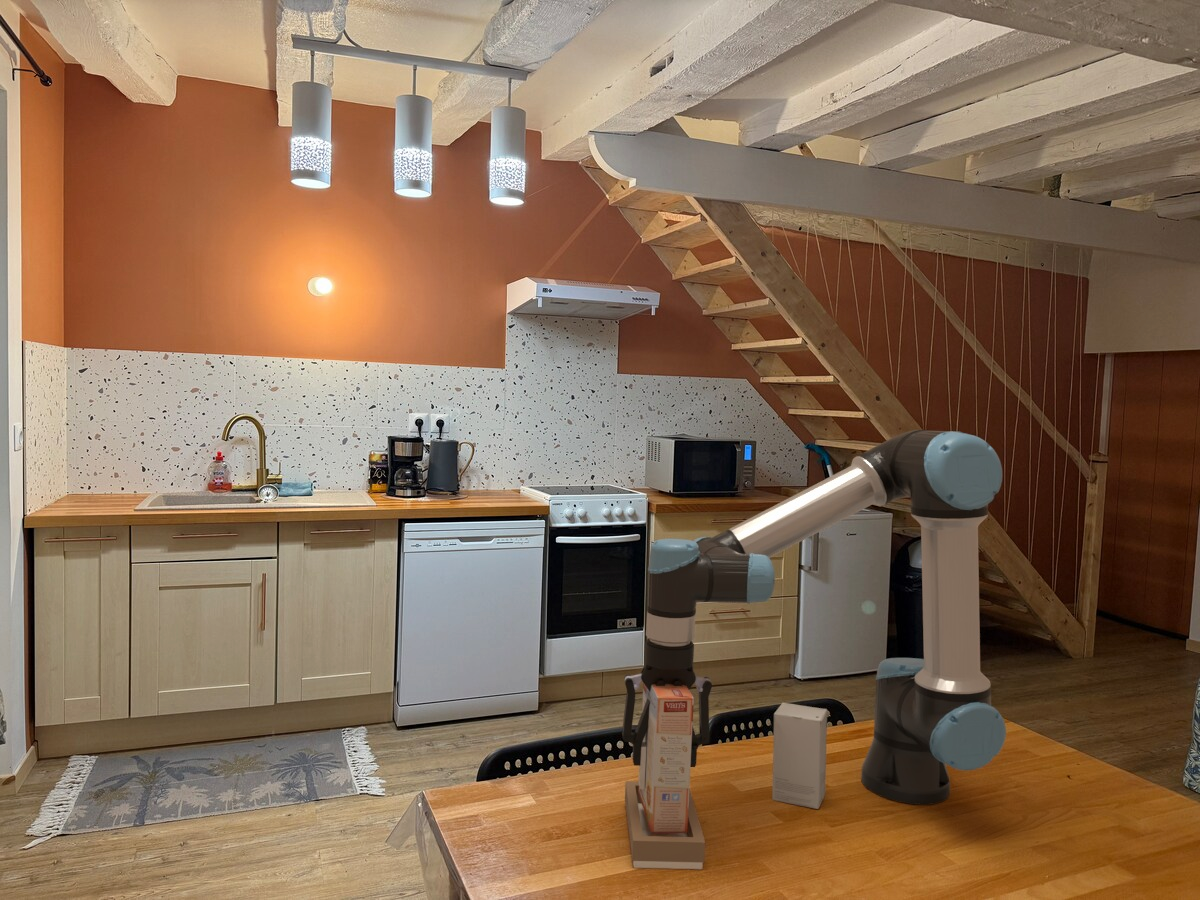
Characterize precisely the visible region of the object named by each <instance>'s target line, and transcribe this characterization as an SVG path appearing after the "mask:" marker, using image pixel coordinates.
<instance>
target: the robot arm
mask: <svg viewBox="0 0 1200 900" xmlns="http://www.w3.org/2000/svg"><path fill="white" fill-rule="evenodd" d="M998 455H999V454H997V452H996V450H995V449H994V448H993V447H992V446H991V445H990V443H988V442H987V441H985V440H984V439H982V438H981V437H979V436H977V435H972V434H969V433H964V432H962V431H953V430H952V431H949V430H948V431H947V430H946V431H945V430H930V429H914V430H910V431H906V432H903V433H900V434H898V435H896V436H894V437H892V438H890V439H888V440H885V441H883V442H882V443H880V444H877V445H876V446H873V447H872V448H870V449H868V450H866V451H864V452H862V453H861V454H858V455H857V456H854V458H853V459H852V461H851V464H850V466H848V467H847V468H845V469H842V470H840V471H838V472H836V473H834V474H833V475H831V476H829V477H827V478H825V479H824V480H821V481H819V482H818V483H816V484H814V485H811V486H810V487H808V488H806V489H804V490H802V491H800V492H798V493H796V494H794V495H792V496H790V497H788V498H787V499H785V500H783V501H781V502H779V503H777V504H775V505H774V506H771V507H769V508H767V509H764V511H761V512H759V513H757V514H756V515H753V516H752V517H750V518H748V519H746V520H744V521H742V522H740V523H738V524H736V525H734V526H732V527H731V528H729V529H727V530H724V531H722V532H720V533H717V534H716V535H714V536H712V537H711V536H703V537H702V536H701V537H698V538H695V539H693V540H691V539H686V538H685V539H683V538H660V539H657V540H655V541H654V542H652V544H651V546H650V552H649V559H648V561H649V562H648V567H647V572H648V577H647V578H648V581H647V582H648V583H647V585H648V587H647V607H646V608H647V610H646V628H645V636H646V637H647V639H646V640H645V647H644V663H643V664H644V665H643V668H642V669H641V671H640V673H639V674H635V675H631V674H626V675H625V676H624V683H625V688H626V696H625V703H624V712H623V720H622V721H623V722H622V727H621V728H622V729H621V735H622V740H623V742H625V743H630V744H632V763H633V766H638V782H639V787H640V789H645V768H646V743H645V741H643V740H644V737H645V734H646V731H647V729H648V723H649V706H650V700H649V699H648V698H647V701H646V703H645V706H644V709H643V712H641V714H640V717H639V720H638V723H637V725H636V728H635V731H634V732H633V731H632V730H633V729H632V727H633V722H634V713H635V706H636V705H635V703H636V691H638V690H639V688H640V684H641V683H644V684H645V686H646V687H647V689H648V690H649V692H650V690H651V685H653V684H656V686H665V684H673V685H674V686H681V687H682V685H685V686H687V688H688V689H689V690H690V689H691V688H692V687H693V685H694V684H695V688H696V690H697V692H698V721H699V722H698V725H699V727H698V728H699V730H698V731H699V732H698V733H696V732H695V730H694V729H695V728H694V725H692V743H691V765H690V768H696V765H697V754H698V748H699V747H700V746H701V745H708V744H709V743H710V708H709V706H710V704H709V701H710V700H709V697H710V694H711V691H712V687H713V684H712V681H711V679H710V678H709V677H708V676H705V677H701V676H699V675H696V673H695V671H694V655H695V653H694V652H695V643H693V640H694V639H695V637H696V636H695V635H696V634H695V633H696V612H697V608H696V607H697V603H734V604H735V603H737V604H738V603H744V604H745V603H746V604H747V605H749V604H752V603H753V604H754V603H755V604H756V603H763V602H767V601H768V600H770V599H771V597H772V596H773V593H774V590H775V584H776V582H775V581H776V578H775V577H776V574H775V567H774V565H773V562H772V560H771V558H772V557H773V556H775V555H777V554H779V553H781V552H784V551H785V550H787V549H789V548H791V547H794V546H795V545H796V544H798V543H800V542H803V541H804V540H807V539H808V538H810V537H812V536H814V535H815V534H816V535H817V534H818V533H820V532H822V531H824V530H826V529H828V528H829V527H832V526H833V525H835V524H837V523H839V522H841V521H842V520H843V521H844V520H845V519H847V518H849V517H851V516H853V515H855V514H857V513H858V512H860V511H863V510H864V509H866V508H868V507H870V506H872V505H873V506H878V507H883V506H886V505H887V504H888V503H891V502H893V501H895V500H899V499H904V498H905V499H906V498H910V516H911V517H912V518H913V520H916V522H917V523H918V524H919V525H920V533H921V534H920V535H921V536H920V538H921V539H920V540H921V541H920V542H921V544H920V545H921V581H922V582H921V583H922V626H923V627H922V628H923V629H922V630H923V635H922V636H923V638H922V639H923V658H916V657H915V658H913V657H890V658H885V659H883V660H881V661H880V662H879V664H878V666H877V671H876V676H875V681H876V684H875V685H876V686H875V704H874V721H873V723H874V725H873V727H874V728H873V739H872V742H871V745H870V746H869V750H868V752H867V754H866V757H865V758H864V760H863V764H862V766H861V776H860V777H861V784H862V785H864V786H865V788H867V789H868V790H869V791H871V792H872V793H874V794H876V795H878V796H880V797H883V798H886V799H888V800H891V801H897V802H900V803H905V804H913V805H933V804H938V803H941V802H945V801H946V800H947V799H948V798H949V797H950V794H951V793H950V792H951V781H950V779H951V778H950V776H949V772H948V769H947V766H949V767H950V768H953V769H954V770H955V769H956V770H958V771H973V770H974V771H975V770H977V769H980V768H983V767H985V766H986V765H988V764H989V763H991V762H992V760H993V758H994V757H997V756H998V755H999V753H1000V751H1002V748H1003V747H1004V743H1005V742H1006V736H1007V727H1006V722H1005V719H1004V718H1003V716H1002V715H1001V713H1000V712H999V710H997V708H996V707H995V706H992V688H991V687H992V686H991V685H992V684H991V681H990V679H988V677H987V676H986V675H984V673H983V672H982V671H981V645H980V644H981V639H980V638H981V633H980V632H981V631H980V630H981V629H980V625H981V624H980V578H979V575H980V572H979V526H980V524H981V523H982V522H984V520H986V519H987V518H988V517H989V504H990V503H991V502H992V501H993V500H994V499H995V495H996V494H998V493H999V491H1000V490H1001V486H1002V482H1003V468H1002V467H1003V466H1002V463H1001V460H1000V458H999V456H998Z"/></svg>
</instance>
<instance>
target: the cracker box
mask: <svg viewBox="0 0 1200 900" xmlns="http://www.w3.org/2000/svg"><path fill="white" fill-rule="evenodd" d="M642 683H643V682H642ZM642 686H643V687H642V688H643V689H642V706H641V707H642V712H643V709H644V706H645V703H646V701H647V698H648V699H649V700H650V706H649V723H648V729H647V731H646V734H645V737H644V740H643V741H645V743H646V768H645V789H640V787H639V792H638V793H639V796H640V799H641V802H642V805H643V809H644V812H645V815H646V818H647V821H648V824H649V828H650V831H651V833H687V825H688V805H689V788H690V782H691V778H690V777H691V767H690V765H691V743H692V725H693V723H694V705H695V703H694V702H695V701H694V699H695V698H694V696H693V694H692V693H691V691H690V689H688V688H687V686H685V685H682V687H681V686H674V685H673V684H665V686H656V684H653V685H651V690H650V692H649V690H648V689H647V687H646V686H645V684H644V683H643V685H642ZM642 712H641V713H642ZM693 726H694V725H693Z"/></svg>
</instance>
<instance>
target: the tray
mask: <svg viewBox="0 0 1200 900" xmlns="http://www.w3.org/2000/svg"><path fill="white" fill-rule="evenodd" d="M624 788H625V789H624V791H625V792H624V802H625V803H624V804H625V811H626V819H627V827H628V828H627V829H628V834H629V835H628V837H629V842H630V843H629V844H630V852H631V860H632V863H633V868H634V869H635V868H636V869H638V868H639V869H675V870H677V869H678V870H679V869H682V870H691V869H692V870H703V863H705V856H706V841H705V837H704V833H703V830H702V826H701V824H700V820H699V817H698V813H697V809H696V805H695V802H694V799H693V796H692V793H691V788H690V787H689V805H688V825H687V833H651V831H650V828H649V824H648V821H647V818H646V815H645V812H644V809H643V805H642V802H641V799H640V796H639V793H638V792H639V781H635V780H634V781H630V780H629V781H627V780H626V781H625V787H624Z"/></svg>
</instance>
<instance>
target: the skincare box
mask: <svg viewBox="0 0 1200 900" xmlns="http://www.w3.org/2000/svg"><path fill="white" fill-rule="evenodd" d="M827 726H828V709H827V708H821V707H820V708H819V707H814V706H813V707H812V706H809V705H808V706H807V705H800V704H794V703H789V702H781V704H780V705H779V706H778V707H777V709H776V711H775V712H774V713H773V742H772V743H773V746H772V747H773V749H772V751H773V752H772V755H773V756H772V794H771V796H772V797H771V799H772V801H777V802H781V803H785V804H791V805H796V806H800V807H806V808H811V809H816V810H818V809H819V808H820V806H821V805H822V803H823V801H824V798H825V795H826V776H827V775H826V773H827V772H826V771H827V770H826V769H827V730H828V729H827V728H828V727H827Z"/></svg>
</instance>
